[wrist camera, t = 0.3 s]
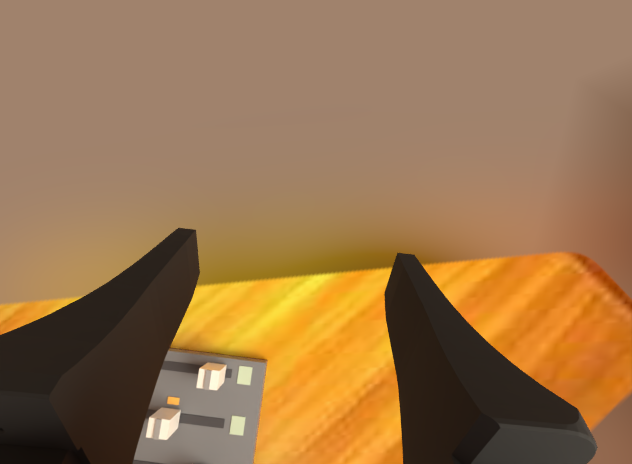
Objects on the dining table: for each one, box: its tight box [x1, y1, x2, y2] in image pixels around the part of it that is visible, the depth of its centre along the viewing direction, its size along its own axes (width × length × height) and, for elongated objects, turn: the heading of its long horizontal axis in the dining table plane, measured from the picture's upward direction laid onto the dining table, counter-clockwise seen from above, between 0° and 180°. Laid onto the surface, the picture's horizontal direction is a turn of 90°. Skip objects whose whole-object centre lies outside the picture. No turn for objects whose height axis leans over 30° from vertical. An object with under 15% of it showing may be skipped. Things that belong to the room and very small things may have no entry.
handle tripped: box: [146, 407, 181, 440], centre depth 37 cm, size 2×2×3 cm
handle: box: [196, 362, 227, 390], centre depth 38 cm, size 2×2×3 cm
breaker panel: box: [133, 348, 267, 464], centre depth 40 cm, size 13×20×2 cm, turn 83°
